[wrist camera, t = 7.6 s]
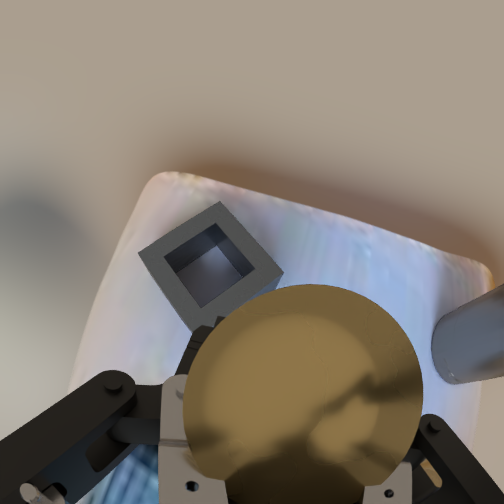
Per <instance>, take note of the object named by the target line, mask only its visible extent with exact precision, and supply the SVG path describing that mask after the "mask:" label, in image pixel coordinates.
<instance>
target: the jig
mask: <svg viewBox="0 0 504 504" xmlns="http://www.w3.org/2000/svg"><path fill="white" fill-rule="evenodd" d="M216 245H217V247H218V248H219V249H220V250H221V251H222V253H223V254H224V255H225V256H226V257H227V259H228V260H229V261H230V262H231V263H232V265H233V266H234V267H235V268H236V269H237V271H238V272H239V273H240V274H241V275H242V276H243V278H242V279H241V280H240V281H238V282H237V283H235V284H234V285H233V286H231V287H230V288H229V289H227V290H226V291H224V292H223V293H222V294H220V295H219V296H217V297H216V298H215V299H213V300H212V301H210V302H209V303H208V304H206V305H205V306H204V307H202V308H200V306H199V305H198V304H197V302H196V301H195V300H194V298H193V297H192V296H191V294H190V293H189V292H188V290H187V289H186V288H185V286H184V285H183V283H182V282H181V281H180V279H179V278H178V277H177V275H176V274H175V273H176V272H178V271H179V270H181V269H182V268H184V267H185V266H187V265H188V264H190V263H191V262H193V261H194V260H196V259H197V258H199V257H200V256H202V255H203V254H205V253H206V252H208V251H209V250H210V249H212V248H213V247H215V246H216ZM138 254H139V256H140V258H141V259H142V261H143V263H144V264H145V266H146V268H147V269H148V271H149V273H150V274H151V276H152V277H153V279H154V280H155V282H156V283H157V285H158V286H159V288H160V289H161V291H162V292H163V293H164V295H165V296H166V298H167V299H168V301H169V302H170V304H171V305H172V306H173V308H174V309H175V311H176V312H177V313H178V315H179V316H180V318H181V319H182V320H183V322H184V323H185V324H186V326H187V327H188V328H189V330H190V331H191V332H192V333H193V331H194V330H196V329H197V328H198V327H200V326H201V325H205V326H209V327H214V325H215V322H216V319H217V316H222V317H227V316H228V315H229V314H231V313H232V312H233V311H234V310H236V309H237V308H239V307H240V306H242V305H243V304H245V303H246V302H248V301H250V300H252V299H254V298H256V297H258V296H260V295H262V294H265V293H268V292H270V291H273V290H275V289H276V287H277V285H278V283H279V281H280V279H281V277H282V275H283V273H284V272H283V271H282V270H281V268H280V267H279V266H278V265H277V264H276V263H275V262H274V261H273V259H272V258H271V257H270V256H269V255H268V254H267V253H266V252H265V251H264V249H263V248H262V247H261V246H260V245H259V244H258V243H257V242H256V241H255V239H254V238H253V237H252V236H251V235H250V234H249V233H248V232H247V231H246V229H245V228H244V227H243V226H242V225H241V224H240V223H239V222H238V221H237V219H236V218H235V217H234V216H233V215H232V214H231V213H230V212H229V211H228V209H227V208H226V207H225V206H224V205H223V204H222V203H221V202H220V201H219V202H218V203H216V204H214V205H213V206H211V207H209V208H208V209H206V210H204V211H203V212H201V213H199V214H198V215H196V216H195V217H193V218H191V219H190V220H188V221H187V222H185V223H183V224H182V225H180V226H179V227H177V228H175V229H174V230H172V231H171V232H169V233H168V234H166V235H164V236H163V237H161V238H160V239H158V240H157V241H155V242H154V243H152V244H151V245H149V246H148V247H146V248H145V249H143V250H142V251H140V252H139V253H138Z"/></svg>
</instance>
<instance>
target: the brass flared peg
mask: <svg viewBox="0 0 504 504" xmlns="http://www.w3.org/2000/svg"><path fill="white" fill-rule="evenodd" d="M422 405H423V381H422V373H421V369H420V365H419V361H418V358H417V355H416V353H415V350H414V348H413V346H412V344H411V342H410V340H409V338H408V337H407V335H406V333H405V332H404V331H403V329H402V328H401V327H400V325H399V324H398V323H397V322H396V321H395V319H394V318H393V317H392V316H391V315H390V314H389V313H388V312H386V311H385V310H384V309H383V308H381V307H380V306H379V305H378V304H376V303H374V302H373V301H371V300H369V299H368V298H366V297H364V296H362V295H360V294H357V293H355V292H353V291H350V290H346V289H343V288H340V287H334V286H328V285H316V284H306V285H294V286H289V287H284V288H280V289H276V290H273V291H270V292H268V293H265V294H262V295H260V296H258V297H256V298H254V299H252V300H250V301H248V302H246V303H245V304H243V305H242V306H240V307H239V308H237V309H236V310H234V311H233V312H232V313H231V314H229V315H228V316H227V317H226V318H225V319H224V320H222V321H221V322H220V323H219V324H218V325H217V327H216V328H215V329H214V330H213V331H212V332H211V333H210V334H209V336H208V337H207V339H206V340H205V342H204V343H203V344H202V346H201V347H200V349H199V351H198V353H197V355H196V357H195V359H194V361H193V363H192V365H191V368H190V371H189V374H188V376H187V379H186V384H185V389H184V394H183V410H182V414H183V424H184V431H185V435H186V439H187V442H188V446H189V448H190V450H191V453H192V455H193V457H194V459H195V461H196V463H197V464H198V466H199V468H200V469H201V471H202V472H203V474H204V475H205V476H206V477H207V478H211V479H217V480H222V481H224V482H225V488H226V494H227V497H229V498H230V499H232V500H233V501H235V502H237V503H238V504H353V503H355V502H357V501H358V500H359V498H360V496H361V494H362V492H363V490H364V488H365V486H375V485H381V484H382V483H383V482H384V481H385V480H386V479H387V478H388V477H389V476H390V475H391V474H392V473H393V472H394V471H395V469H396V468H397V467H398V466H399V464H400V463H401V461H402V460H403V458H404V457H405V455H406V454H407V452H408V450H409V448H410V446H411V444H412V442H413V440H414V437H415V435H416V432H417V429H418V426H419V422H420V418H421V413H422Z"/></svg>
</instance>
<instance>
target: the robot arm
mask: <svg viewBox="0 0 504 504" xmlns="http://www.w3.org/2000/svg"><path fill="white" fill-rule="evenodd" d="M225 318H226V317H222V316H217V319H216V322H215V325H214V327H209V326H205V325H201V326H200V327H198V328H197V329H196V330H194V331H193V333H192V336H191V338H190V341H189V343H188V345H187V348H186V350H185V352H184V354H183V357H182V359H181V361H180V363H179V366H178V368H177V370H176V373H175V375H174V376H172V377H170V378H168V379H167V380H166V381H165V382H164V383H163V384H160V385H136V384H135V382H134V380H133V379H132V378H131V377H130V376H129V375H128V374H126V373H124V372H121V371H117V370H108V371H104V372H101V373H99V374H98V375H96V376H95V377H93V378H92V379H90V380H89V381H88V382H86V383H85V384H83V385H82V386H80V387H79V388H77V389H76V390H75V391H73V392H72V393H70V394H69V395H67V396H66V397H64V398H63V399H62V400H60V401H59V402H57V403H56V404H54V405H53V406H51V407H50V408H48V409H47V410H45V411H44V412H42V413H41V414H40V415H38V416H37V417H35V418H34V419H32V420H31V421H29V422H28V423H26V424H25V425H23V426H22V427H20V428H19V429H17V430H16V431H14V432H13V433H11V434H10V435H8V436H7V437H5V438H4V439H2V440H1V441H0V504H75V503H77V502H78V501H79V500H80V499H81V498H82V497H83V496H84V495H86V494H87V493H88V492H89V491H90V490H91V489H92V488H93V487H95V486H96V485H97V484H98V483H99V482H100V481H101V480H102V479H103V478H104V477H106V476H107V475H108V474H109V473H110V472H111V471H112V470H113V469H114V468H115V467H116V466H117V465H118V464H119V463H120V462H122V461H123V460H124V459H125V458H126V457H127V456H128V455H129V454H130V453H131V452H132V451H133V450H134V449H135V448H136V447H137V446H138V445H139V444H154V445H159V452H158V478H159V504H238V503H237V502H235V501H233V500H232V499H230V498H229V497H227V494H226V488H225V482H224V481H222V480H217V479H211V478H207V477H206V476H205V475H204V474H203V472H202V471H201V469H200V468H199V466H198V464H197V463H196V461H195V459H194V457H193V455H192V453H191V450H190V448H189V446H188V442H187V439H186V435H185V431H184V424H183V414H182V410H183V394H184V389H185V384H186V379H187V376H188V374H189V371H190V368H191V365H192V363H193V361H194V359H195V357H196V355H197V353H198V351H199V349H200V347H201V346H202V344H203V343H204V342H205V340H206V339H207V337H208V336H209V334H210V333H211V332H212V331H213V330H214V329H215V328H216V327H217V325H218V324H219V323H220V322H221V321H222V320H224V319H225ZM432 356H433V361H434V364H435V367H436V370H437V372H438V373H439V375H440V376H441V377H442V378H443V380H444V381H446V382H448V383H450V384H454V385H455V384H463V383H470V382H476V381H482V380H488V379H492V378H497V377H502V376H504V284H502V285H500V286H498V287H497V288H495V289H493V290H491V291H489V292H487V293H486V294H484V295H482V296H480V297H478V298H476V299H474V300H472V301H470V302H468V303H466V304H464V305H462V306H460V307H459V308H458V309H457V310H455V311H452V312H450V313H448V314H446V315H445V316H444V317H443V318H442V319H441V320H440V321H439V323H438V324H437V326H436V329H435V331H434V335H433V340H432ZM425 459H427V460H428V461H429V463H430V464H431V466H432V467H433V468H434V470H435V471H436V472H437V474H438V475H439V476H440V478H441V480H442V486H441V487H437V486H435V484H434V483H433V482H432V480H431V479H430V477H429V476H428V475H427V473H426V472H425V470H424V469H423V468H422V466H421V465H420V464H421V463H422V462H423V461H424V460H425ZM353 504H504V494H503V492H502V491H501V490H500V488H499V487H498V486H497V485H496V483H495V482H494V481H493V480H492V478H491V477H490V476H489V474H488V473H487V472H486V471H485V469H484V468H483V467H482V466H481V464H480V463H479V462H478V461H477V459H476V458H475V457H474V456H473V455H472V453H471V452H470V451H469V450H468V448H467V447H466V446H465V445H464V444H463V442H462V441H461V440H460V439H459V438H458V436H457V435H456V434H455V433H454V432H453V431H452V429H451V428H450V427H449V426H448V425H447V423H446V422H445V421H444V420H443V419H442V418H440V417H439V416H437V415H434V414H425V415H423V416H422V417H421V418H420V422H419V426H418V429H417V432H416V435H415V437H414V440H413V442H412V444H411V446H410V448H409V450H408V452H407V454H406V455H405V457H404V458H403V460H402V461H401V463H400V464H399V466H398V467H397V468H396V469H395V471H394V472H393V473H392V474H391V475H390V476H389V477H388V478H387V479H386V480H385V481H384V482H383V483H382V484H381V485H375V486H365V488H364V490H363V492H362V494H361V496H360V498H359V500H358V501H357V502H355V503H353Z"/></svg>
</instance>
